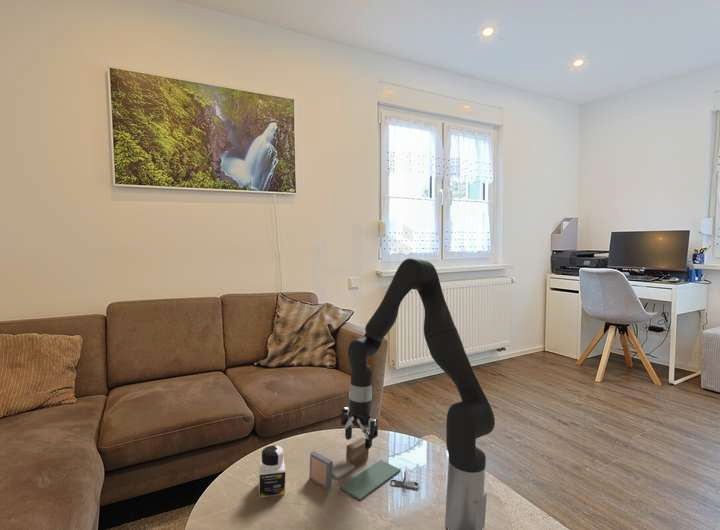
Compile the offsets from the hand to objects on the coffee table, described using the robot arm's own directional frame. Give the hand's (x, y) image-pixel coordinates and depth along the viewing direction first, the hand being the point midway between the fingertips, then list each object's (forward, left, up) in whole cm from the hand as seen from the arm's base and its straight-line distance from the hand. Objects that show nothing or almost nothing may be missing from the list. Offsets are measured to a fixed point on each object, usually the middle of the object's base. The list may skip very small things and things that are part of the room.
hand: (357, 443), depth 131 cm
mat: (-10, +5, -6) cm, 13 cm away
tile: (0, +17, -6) cm, 18 cm away
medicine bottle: (+8, +29, -6) cm, 31 cm away
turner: (0, +4, -6) cm, 7 cm away
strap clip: (-19, 0, -6) cm, 20 cm away
